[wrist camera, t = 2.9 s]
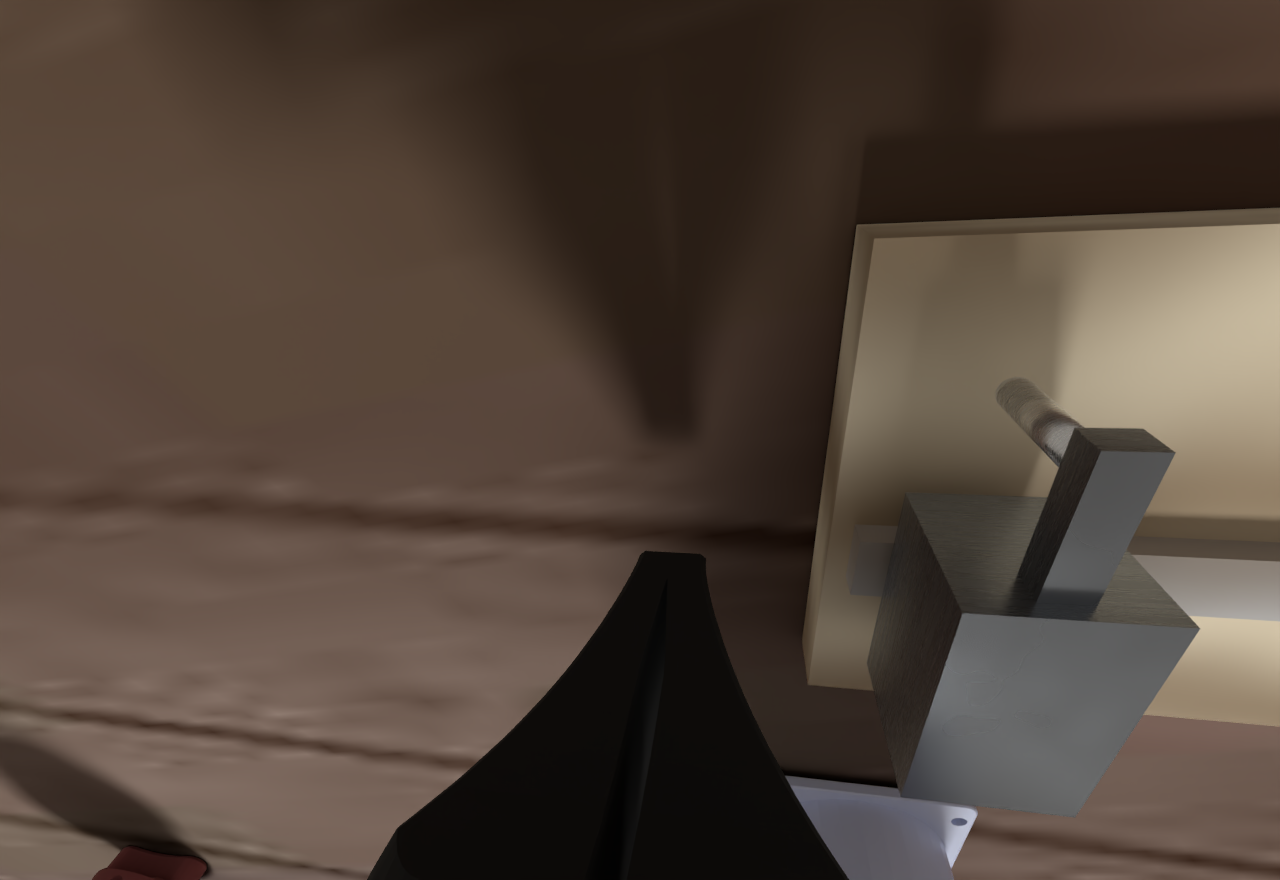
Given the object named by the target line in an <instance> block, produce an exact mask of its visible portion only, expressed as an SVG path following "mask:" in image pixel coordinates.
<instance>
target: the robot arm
mask: <svg viewBox="0 0 1280 880" xmlns="http://www.w3.org/2000/svg"><path fill="white" fill-rule="evenodd" d="M977 813H978V812H977V809H976V806H973V805H964V804H956V803H947V802H938V801H930V800H921V799H913V798H904V797H900V793H899V789H898V788H891V787H882V786H873V785H864V784H856V783H847V782H838V781H829V780H821V779H812V778H803V777H794V776H785V775H784V773H783V772H782V770H781V768H780V766H779V764H778V763H777V761H776V759H775V757H774V755H773V754H772V752H771V750H770V748H769V746H768V744H767V742H766V740H765V738H764V736H763V734H762V732H761V730H760V728H759V726H758V724H757V722H756V720H755V718H754V716H753V714H752V712H751V709H750V707H749V705H748V703H747V701H746V699H745V696H744V694H743V692H742V689H741V687H740V685H739V682H738V680H737V677H736V675H735V672H734V670H733V667H732V665H731V662H730V659H729V657H728V654H727V651H726V649H725V646H724V643H723V640H722V637H721V634H720V630H719V627H718V624H717V621H716V618H715V614H714V610H713V607H712V603H711V598H710V594H709V589H708V584H707V577H706V558H704V557H703V556H702V555H701V554H690V553H671V552H652V551H645V552H644V553H642V554H641V555H640V557H639V559H638V561H637V564H636V566H635V568H634V570H633V572H632V573H631V575H630V577H629V579H628V581H627V583H626V584H625V586H624V588H623V589H622V591H621V593H620V595H619V596H618V598H617V600H616V601H615V603H614V604H613V606H612V607H611V609H610V610H609V612H608V614H607V615H606V617H605V618H604V620H603V621H602V623H601V624H600V626H599V627H598V629H597V630H596V631H595V633H594V634H593V636H592V637H591V638H590V640H589V641H588V642H587V644H586V645H585V646H584V648H583V649H582V651H581V652H580V653H579V655H578V656H577V657H576V659H575V660H574V661H573V662H572V664H571V665H570V666H569V667H568V669H567V670H566V671H565V672H564V674H563V675H562V676H561V677H560V678H559V680H558V681H557V682H556V683H555V684H554V685H553V687H552V688H551V689H550V690H549V691H548V692H547V693H546V695H545V696H544V697H543V698H542V699H541V700H540V701H539V702H538V703H537V704H536V705H535V706H534V707H533V709H532V710H531V711H530V712H529V713H528V714H527V715H526V716H525V717H524V718H523V719H522V720H521V721H520V722H519V723H518V724H517V725H516V726H515V727H514V728H513V729H512V730H511V731H510V732H509V733H508V734H507V735H506V736H505V737H504V738H503V739H502V740H501V741H500V742H499V743H498V744H497V745H496V746H494V747H493V748H492V749H491V750H490V751H489V752H488V753H487V754H486V755H485V756H483V757H482V758H481V759H480V760H479V761H478V762H477V763H476V764H475V765H474V766H472V767H471V768H470V769H469V770H468V771H467V772H466V773H465V774H464V775H462V776H461V777H460V778H459V779H458V780H457V781H455V782H454V783H453V784H452V785H451V786H449V787H448V788H447V789H446V790H444V791H443V792H442V793H441V794H439V795H438V796H437V797H436V798H434V799H433V800H432V801H431V802H429V803H428V804H427V805H426V806H424V807H423V808H422V809H421V810H419V811H418V812H417V813H416V814H414V815H413V816H412V817H411V818H409V819H408V820H407V821H406V822H404V823H403V824H402V825H400V826H399V827H398V828H397V829H396V831H395V833H394V834H393V836H392V838H391V839H390V841H389V843H388V844H387V846H386V848H385V849H384V851H383V853H382V854H381V856H380V858H379V859H378V861H377V863H376V865H375V866H374V868H373V870H372V871H371V873H370V875H369V877H368V879H367V880H954V878H953V874H952V871H951V868H952V866H953V864H954V862H955V860H956V858H957V856H958V854H959V852H960V850H961V848H962V845H963V843H964V841H965V839H966V837H967V835H968V833H969V831H970V829H971V827H972V825H973V823H974V821H975V819H976V817H977Z"/></svg>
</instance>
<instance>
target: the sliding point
mask: <svg viewBox="0 0 1280 880" xmlns="http://www.w3.org/2000/svg"><path fill="white" fill-rule="evenodd" d="M995 398H996V401H997V403H998V404H999V406H1000V407H1001V408H1002V409H1003V410H1004V411H1005V412H1006V413H1007V414H1008V415H1009V416H1010V417H1011V418H1012V419H1013V420H1014V421H1015V422H1016V423H1017V424H1018V425H1019V427H1020V428H1021V429H1022V430H1023V431H1024V432H1025V433H1026V434H1027V435H1028V436H1029V437H1030V438H1031V439H1032V440H1033V441H1034V442H1035V443H1036V444H1037V445H1038V446H1039V447H1040V448H1041V450H1042V451H1043V452H1044V453H1045V454H1046V455H1047V456H1048V457H1049V458H1050V459H1051V460H1052V461H1053V462H1054V463H1055V464H1056V465H1057V466H1058V467H1059V469H1058V471H1057V474H1056V476H1055V479H1054V482H1053V484H1052V487H1051V489H1050V492H1049V494H1048V497H1029V496H999V495H969V494H939V493H908V492H905V497H904V501H903V505H902V510H901V514H900V519H899V523H898V527H897V532H896V536H895V541H894V545H893V549H892V554H891V558H890V563H889V567H888V572H887V576H886V580H885V585H884V589H883V594H882V598H881V602H880V607H879V611H878V616H877V620H876V624H875V629H874V633H873V638H872V642H871V646H870V651H869V655H868V660H867V666H868V670H869V674H870V678H871V682H872V686H873V690H874V694H875V698H876V702H877V706H878V710H879V714H880V718H881V722H882V726H883V730H884V734H885V738H886V742H887V746H888V750H889V753H890V757H891V761H892V765H893V769H894V773H895V777H896V781H897V785H898V789H899V793H900V797H904V798H913V799H921V800H930V801H938V802H947V803H956V804H964V805H973V806H981V807H990V808H999V809H1007V810H1016V811H1024V812H1033V813H1042V814H1050V815H1059V816H1067V817H1076V815H1077V814H1078V812H1079V811H1080V809H1081V808H1082V806H1083V804H1084V803H1085V801H1086V800H1087V798H1088V797H1089V795H1090V794H1091V792H1092V791H1093V789H1094V788H1095V786H1096V785H1097V783H1098V782H1099V780H1100V779H1101V777H1102V776H1103V774H1104V773H1105V771H1106V770H1107V768H1108V767H1109V765H1110V764H1111V762H1112V761H1113V759H1114V758H1115V756H1116V755H1117V753H1118V752H1119V750H1120V749H1121V747H1122V746H1123V744H1124V743H1125V741H1126V740H1127V738H1128V737H1129V735H1130V734H1131V732H1132V731H1133V729H1134V728H1135V726H1136V725H1137V723H1138V722H1139V720H1140V719H1141V717H1142V716H1143V714H1144V713H1145V711H1146V710H1147V708H1148V707H1149V705H1150V704H1151V702H1152V701H1153V699H1154V698H1155V696H1156V695H1157V693H1158V692H1159V690H1160V689H1161V687H1162V686H1163V684H1164V683H1165V681H1166V680H1167V678H1168V677H1169V675H1170V674H1171V672H1172V671H1173V669H1174V668H1175V666H1176V665H1177V663H1178V662H1179V660H1180V659H1181V657H1182V656H1183V654H1184V653H1185V651H1186V650H1187V648H1188V647H1189V645H1190V644H1191V642H1192V641H1193V639H1194V638H1195V636H1196V635H1197V633H1198V632H1199V630H1200V628H1199V627H1198V626H1197V624H1196V623H1195V622H1194V621H1193V620H1192V619H1191V618H1190V617H1189V616H1188V615H1187V614H1186V613H1185V612H1184V610H1183V609H1182V608H1181V607H1180V606H1179V605H1178V604H1177V603H1176V602H1175V601H1174V600H1173V599H1172V598H1171V597H1170V595H1169V594H1168V593H1167V592H1166V591H1165V590H1164V589H1163V588H1162V587H1161V586H1160V585H1159V584H1158V583H1157V581H1156V580H1155V579H1154V578H1153V577H1152V576H1151V575H1150V574H1149V573H1148V572H1147V571H1146V570H1145V569H1144V568H1143V566H1142V565H1141V564H1140V563H1139V562H1138V561H1137V560H1136V559H1135V558H1134V557H1133V556H1132V555H1131V554H1130V552H1129V551H1128V550H1127V547H1128V545H1129V543H1130V541H1131V539H1132V538H1133V536H1134V534H1135V532H1136V530H1137V528H1138V526H1139V524H1140V522H1141V520H1142V518H1143V516H1144V514H1145V512H1146V510H1147V508H1148V506H1149V504H1150V502H1151V500H1152V498H1153V496H1154V495H1155V493H1156V491H1157V489H1158V487H1159V485H1160V483H1161V481H1162V479H1163V477H1164V475H1165V473H1166V471H1167V469H1168V467H1169V465H1170V463H1171V461H1172V459H1173V457H1174V455H1175V453H1176V452H1174V451H1173V450H1172V449H1170V448H1169V447H1167V446H1166V445H1165V444H1163V443H1162V442H1161V441H1159V440H1158V439H1157V438H1155V437H1154V436H1153V435H1151V434H1150V433H1148V432H1147V431H1146V430H1144V429H1136V428H1085V427H1084V426H1083V425H1082V424H1080V423H1079V422H1078V421H1077V420H1076V419H1075V418H1073V417H1072V416H1071V415H1070V414H1069V413H1068V412H1066V411H1065V410H1064V409H1063V408H1062V407H1061V406H1059V405H1058V404H1057V403H1056V402H1055V401H1054V400H1052V399H1051V398H1050V397H1049V396H1048V395H1047V394H1045V393H1044V392H1043V391H1042V390H1041V389H1040V388H1038V387H1037V386H1036V385H1035V384H1034V383H1033V382H1031V381H1030V380H1028V379H1026V378H1022V377H1012V378H1009V379H1006V380H1004V381H1003V382H1002V383H1000V385H999V386H998V387H997V389H996V392H995Z"/></svg>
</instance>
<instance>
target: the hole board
mask: <svg viewBox="0 0 1280 880" xmlns="http://www.w3.org/2000/svg"><path fill="white" fill-rule="evenodd" d="M1012 377H1022V378H1026V379H1028V380H1030V381H1031V382H1033V383H1034V384H1035V385H1036V386H1037V387H1038V388H1040V389H1041V390H1042V391H1043V392H1044V393H1045V394H1047V395H1048V396H1049V397H1050V398H1051V399H1052V400H1054V401H1055V402H1056V403H1057V404H1058V405H1059V406H1061V407H1062V408H1063V409H1064V410H1065V411H1066V412H1068V413H1069V414H1070V415H1071V416H1072V417H1073V418H1075V419H1076V420H1077V421H1078V422H1079V423H1080V424H1082V425H1083V426H1084V427H1085V428H1136V429H1144V430H1146V431H1147V432H1148V433H1150V434H1151V435H1153V436H1154V437H1155V438H1157V439H1158V440H1159V441H1161V442H1162V443H1163V444H1165V445H1166V446H1167V447H1169V448H1170V449H1172V450H1173V451H1174V452H1176V453H1175V455H1174V457H1173V459H1172V461H1171V463H1170V465H1169V467H1168V469H1167V471H1166V473H1165V475H1164V477H1163V479H1162V481H1161V483H1160V485H1159V487H1158V489H1157V491H1156V493H1155V495H1154V496H1153V498H1152V500H1151V502H1150V504H1149V506H1148V508H1147V510H1146V512H1145V514H1144V516H1143V518H1142V520H1141V522H1140V524H1139V526H1138V528H1137V530H1136V532H1135V534H1134V536H1133V538H1132V539H1131V541H1130V543H1129V545H1128V547H1127V550H1128V551H1129V552H1130V554H1131V555H1132V556H1133V557H1134V558H1135V559H1136V560H1137V561H1138V562H1139V563H1140V564H1141V565H1142V566H1143V568H1144V569H1145V570H1146V571H1147V572H1148V573H1149V574H1150V575H1151V576H1152V577H1153V578H1154V579H1155V580H1156V581H1157V583H1158V584H1159V585H1160V586H1161V587H1162V588H1163V589H1164V590H1165V591H1166V592H1167V593H1168V594H1169V595H1170V597H1171V598H1172V599H1173V600H1174V601H1175V602H1176V603H1177V604H1178V605H1179V606H1180V607H1181V608H1182V609H1183V610H1184V612H1185V613H1186V614H1187V615H1188V616H1189V617H1190V618H1191V619H1192V620H1193V621H1194V622H1195V623H1196V624H1197V626H1198V627H1199V628H1200V630H1199V632H1198V633H1197V635H1196V636H1195V638H1194V639H1193V641H1192V642H1191V644H1190V645H1189V647H1188V648H1187V650H1186V651H1185V653H1184V654H1183V656H1182V657H1181V659H1180V660H1179V662H1178V663H1177V665H1176V666H1175V668H1174V669H1173V671H1172V672H1171V674H1170V675H1169V677H1168V678H1167V680H1166V681H1165V683H1164V684H1163V686H1162V687H1161V689H1160V690H1159V692H1158V693H1157V695H1156V696H1155V698H1154V699H1153V701H1152V702H1151V704H1150V705H1149V707H1148V708H1147V710H1146V711H1145V713H1144V715H1155V716H1166V717H1178V718H1189V719H1201V720H1212V721H1223V722H1235V723H1246V724H1257V725H1269V726H1280V208H1258V209H1233V210H1208V211H1183V212H1159V213H1134V214H1109V215H1084V216H1059V217H1035V218H1010V219H985V220H960V221H935V222H911V223H886V224H861V225H857V227H856V234H855V242H854V249H853V257H852V265H851V272H850V280H849V287H848V295H847V303H846V310H845V318H844V325H843V333H842V341H841V348H840V356H839V363H838V371H837V379H836V386H835V394H834V401H833V409H832V417H831V424H830V432H829V439H828V447H827V455H826V462H825V470H824V477H823V485H822V492H821V500H820V508H819V515H818V523H817V530H816V538H815V546H814V553H813V561H812V568H811V576H810V584H809V591H808V599H807V606H806V614H805V622H804V629H803V637H802V646H803V653H804V660H805V668H806V675H807V682H808V685H814V686H825V687H837V688H848V689H859V690H871V691H874V690H873V686H872V682H871V678H870V674H869V670H868V666H867V660H868V655H869V651H870V646H871V642H872V638H873V633H874V629H875V624H876V620H877V616H878V611H879V607H880V602H881V598H882V594H883V589H884V585H885V580H886V576H887V572H888V567H889V563H890V558H891V554H892V549H893V545H894V541H895V536H896V532H897V527H898V523H899V519H900V514H901V510H902V505H903V501H904V497H905V492H908V493H939V494H969V495H999V496H1029V497H1048V494H1049V492H1050V489H1051V487H1052V484H1053V482H1054V479H1055V476H1056V474H1057V471H1058V469H1059V467H1058V466H1057V465H1056V464H1055V463H1054V462H1053V461H1052V460H1051V459H1050V458H1049V457H1048V456H1047V455H1046V454H1045V453H1044V452H1043V451H1042V450H1041V448H1040V447H1039V446H1038V445H1037V444H1036V443H1035V442H1034V441H1033V440H1032V439H1031V438H1030V437H1029V436H1028V435H1027V434H1026V433H1025V432H1024V431H1023V430H1022V429H1021V428H1020V427H1019V425H1018V424H1017V423H1016V422H1015V421H1014V420H1013V419H1012V418H1011V417H1010V416H1009V415H1008V414H1007V413H1006V412H1005V411H1004V410H1003V409H1002V408H1001V407H1000V406H999V404H998V403H997V401H996V398H995V392H996V389H997V387H998V386H999V385H1000V383H1002V382H1003V381H1004V380H1006V379H1009V378H1012Z"/></svg>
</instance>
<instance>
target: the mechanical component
mask: <svg viewBox="0 0 1280 880" xmlns="http://www.w3.org/2000/svg"><path fill="white" fill-rule="evenodd" d="M206 869H207V866H206V863H205V862H204V861H203V860H201V859H199V858H197V857H193V856H173V855H166V854H161V853H156V852H152V851H148V850H145V849H141V848H138V847H135V846H128V847H125V848H123V849H122V851H121V852H120V853H119V854H118V855H117V856H116V858H115V859H114V860H113V861H112V862H111V864H110V865H109V866H108V867H107V868H105V869H102V870H100V871H98V873H97V874H96V875H95V876H94V877H93V879H92V880H199V879H200V878H201V877H202V875H203V874H204V872H205V871H206Z"/></svg>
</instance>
